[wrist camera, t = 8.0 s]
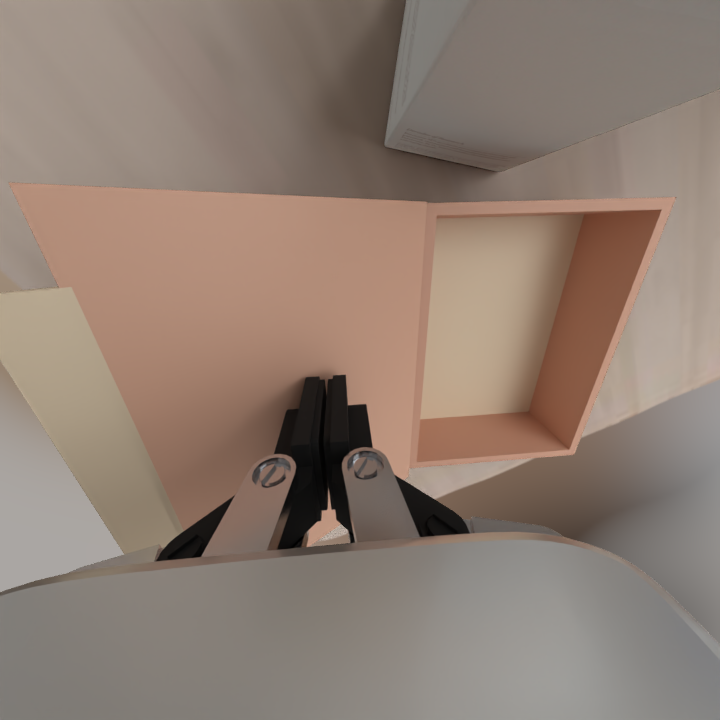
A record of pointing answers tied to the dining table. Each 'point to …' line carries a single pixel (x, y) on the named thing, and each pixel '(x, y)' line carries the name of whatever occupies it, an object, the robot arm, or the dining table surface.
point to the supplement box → (542, 73)
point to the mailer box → (522, 321)
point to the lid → (207, 337)
